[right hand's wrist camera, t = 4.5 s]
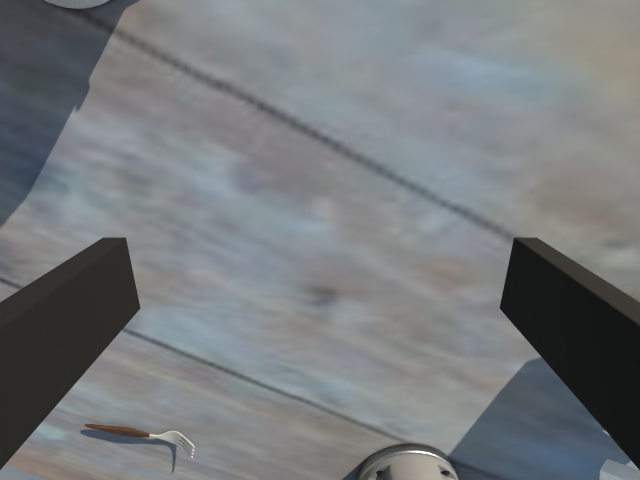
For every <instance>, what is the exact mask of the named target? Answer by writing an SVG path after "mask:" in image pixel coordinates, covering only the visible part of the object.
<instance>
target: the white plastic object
mask: <svg viewBox="0 0 640 480" xmlns="http://www.w3.org/2000/svg"><path fill="white" fill-rule="evenodd" d="M603 432H604V433H606V434H608V433H607V432H606V430H605V429H603ZM608 435H609V434H608ZM609 436H610V435H609ZM600 480H640V470H637V469H635V468H632V467H629V466H626V465H623V464H621V463H618V462H615V461H612V460H609V459H606V461H605V463H604V464H603V466H602V468H601V469H600Z"/></svg>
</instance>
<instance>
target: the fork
mask: <svg viewBox="0 0 640 480" xmlns="http://www.w3.org/2000/svg"><path fill="white" fill-rule="evenodd" d="M85 426H86V427H90V428H93V429H97V430H102V431H106V432H111V433H115V434H119V435H124V436H135V437H151V438H158V439H162V440H165V441H167V442H170V443H172V444H174V445H177V446H178V447H180V448H181V449H183V450H184V451H185V452H186V453H187V454H188V455H190V456H191V457H192V458H193V456H192V455H193V454H194V453H193V452H192V451H191V450H190V449H189V448H191V449H192V450H193V451H194V449H193V448H192V447H191V446H190V445H189V444H191V445H192V446H193V447H195V446H194V445H193V444H192V443H191V442H190V441H189V440H188V439H187V438H185V437H184V436H183V435H182V434H180V433H179V432H177V431H168V432H166V433H163V434H160V435H153V434H149V433H146V432H142V431H138V430H135V429H131V428H125V427H114V426H103V425H94V424H85ZM181 437H182V438H183V439H185V440H186V441H187V442H188V443H189V444H188V443H187V442H185V441H184V440H183V439H182V438H181ZM181 441H182V442H184V443H185V444H186V445H187V446H188V447H189V448H188V447H187V446H186V445H184V444H183V443H182V442H181ZM180 444H181V445H182V446H184V447H185V448H186V449H187V450H188V451H189V452H191V453H192V455H191V454H190V453H189V452H188V451H187V450H186V449H185V448H183V447H182V446H181V445H180Z"/></svg>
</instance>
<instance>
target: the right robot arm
mask: <svg viewBox="0 0 640 480" xmlns="http://www.w3.org/2000/svg"><path fill="white" fill-rule="evenodd" d="M139 309H140V304H139V299H138V295H137V290H136V285H135V280H134V275H133V270H132V265H131V261H130V256H129V251H128V246H127V241H126V238H102V239H100V240H99V241H97V242H96V243H94V244H92V245H91V246H89V247H88V248H86V249H84V250H83V251H81V252H80V253H78V254H76V255H75V256H73V257H72V258H70V259H69V260H67V261H65V262H64V263H62V264H61V265H59V266H57V267H56V268H54V269H53V270H51V271H49V272H48V273H46V274H45V275H43V276H42V277H40V278H38V279H37V280H35V281H34V282H32V283H30V284H29V285H27V286H26V287H24V288H23V289H21V290H19V291H18V292H16V293H15V294H13V295H11V296H10V297H8V298H7V299H5V300H3V301H2V302H0V470H1V468H2V467H3V466H4V465H5V464H6V463H7V462H8V460H9V459H10V458H11V457H12V456H13V455H14V453H15V452H16V451H17V450H18V449H19V448H20V447H21V445H22V444H23V443H24V442H25V441H26V440H27V438H28V437H29V436H30V435H31V434H32V433H33V432H34V430H35V429H36V428H37V427H38V426H39V425H40V424H41V422H42V421H43V420H44V419H45V418H46V417H47V415H48V414H49V413H50V412H51V411H52V410H53V409H54V407H55V406H56V405H57V404H58V403H59V402H60V400H61V399H62V398H63V397H64V396H65V395H66V394H67V392H68V391H69V390H70V389H71V388H72V387H73V385H74V384H75V383H76V382H77V381H78V380H79V379H80V377H81V376H82V375H83V374H84V373H85V372H86V370H87V369H88V368H89V367H90V366H91V365H92V364H93V362H94V361H95V360H96V359H97V358H98V357H99V355H100V354H101V353H102V352H103V351H104V350H105V349H106V347H107V346H108V345H109V344H110V343H111V342H112V340H113V339H114V338H115V337H116V336H117V335H118V334H119V332H120V331H121V330H122V329H123V328H124V327H125V325H126V324H127V323H128V322H129V321H130V320H131V319H132V317H133V316H134V315H135V314H136V313H137V312H138V310H139ZM500 309H501V310H502V312H503V313H504V314H505V315H506V316H507V317H508V319H509V320H510V321H511V322H512V323H513V324H514V325H515V327H516V328H517V329H518V330H519V331H520V332H521V334H522V335H523V336H524V337H525V338H526V339H527V340H528V342H529V343H530V344H531V345H532V346H533V347H534V349H535V350H536V351H537V352H538V353H539V354H540V355H541V357H542V358H543V359H544V360H545V361H546V362H547V364H548V365H549V366H550V367H551V368H552V369H553V370H554V372H555V373H556V374H557V375H558V376H559V377H560V379H561V380H562V381H563V382H564V383H565V384H566V385H567V387H568V388H569V389H570V390H571V391H572V392H573V394H574V395H575V396H576V397H577V398H578V399H579V400H580V402H581V403H582V404H583V405H584V406H585V407H586V409H587V410H588V411H589V412H590V413H591V414H592V415H593V417H594V418H595V419H596V420H597V421H598V422H599V424H600V425H601V426H602V427H603V428H604V429H605V430H606V432H607V433H608V434H609V435H610V436H611V437H612V438H613V440H614V441H615V442H616V443H617V444H618V445H619V447H620V448H621V449H622V450H623V451H624V452H625V453H626V455H627V456H628V457H629V458H630V459H631V460H632V462H633V463H634V464H635V465H636V466H637V467H638V468H639V470H640V302H638V301H637V300H635V299H633V298H632V297H630V296H629V295H627V294H625V293H624V292H622V291H621V290H619V289H617V288H616V287H614V286H613V285H611V284H610V283H608V282H606V281H605V280H603V279H602V278H600V277H598V276H597V275H595V274H594V273H592V272H591V271H589V270H587V269H586V268H584V267H583V266H581V265H579V264H578V263H576V262H575V261H573V260H571V259H570V258H568V257H567V256H565V255H564V254H562V253H560V252H559V251H557V250H556V249H554V248H552V247H551V246H549V245H548V244H546V243H544V242H543V241H541V240H540V239H538V238H514V241H513V246H512V251H511V256H510V261H509V265H508V270H507V275H506V280H505V285H504V290H503V295H502V299H501V304H500ZM357 480H459V479H458V476H457V473H456V471H455V468H454V465H453V463H452V462H451V460H450V459H449V458H448V457H447V456H446V455H445V454H444V453H442V452H441V451H439V450H437V449H435V448H432V447H430V446H426V445H421V444H400V445H394V446H390V447H387V448H385V449H382V450H380V451H378V452H376V453H375V454H373V455H372V456H371V457H369V458H368V459H367V460H366V461H365V462H364V463H363V465H362V466H361V468H360V470H359V472H358V475H357Z"/></svg>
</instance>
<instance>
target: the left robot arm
mask: <svg viewBox="0 0 640 480" xmlns="http://www.w3.org/2000/svg"><path fill="white" fill-rule="evenodd" d="M44 1H46V2H49V3H51V4H54V5H57V6H61V7H65V8H74V9H84V8H91V7H95V6H98V5H101V4H104V3H106V2H108V1H110V0H44Z"/></svg>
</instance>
